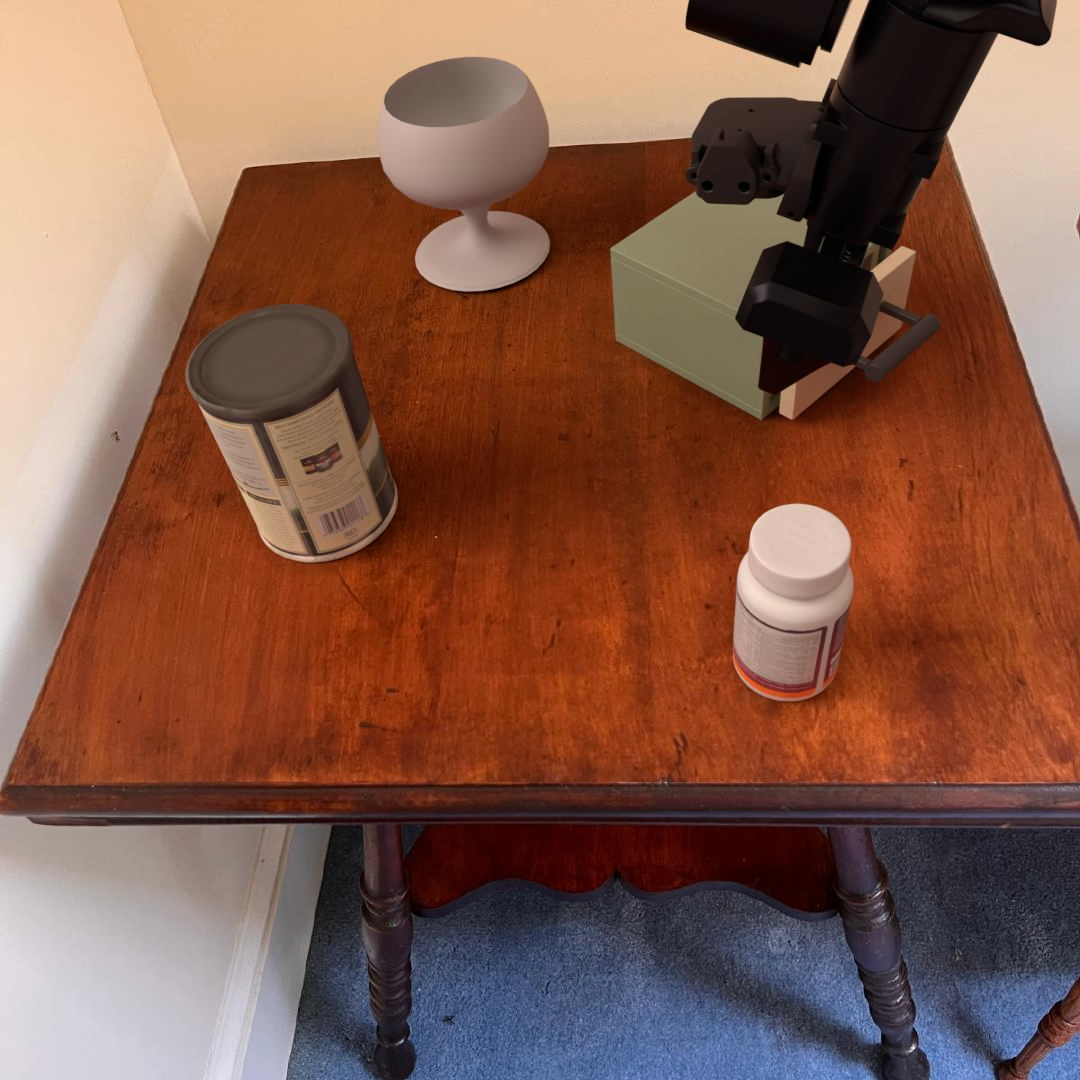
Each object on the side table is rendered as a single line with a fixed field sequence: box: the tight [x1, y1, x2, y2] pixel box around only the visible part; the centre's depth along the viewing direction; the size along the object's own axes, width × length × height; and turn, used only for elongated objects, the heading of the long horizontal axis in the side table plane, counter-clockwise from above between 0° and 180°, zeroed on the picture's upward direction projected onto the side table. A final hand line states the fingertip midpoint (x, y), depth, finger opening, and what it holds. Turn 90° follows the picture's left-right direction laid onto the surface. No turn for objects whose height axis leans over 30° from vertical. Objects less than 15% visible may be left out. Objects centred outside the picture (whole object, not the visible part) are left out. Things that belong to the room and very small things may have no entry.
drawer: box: [770, 245, 942, 421], centre depth 76 cm, size 18×13×7 cm
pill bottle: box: [732, 503, 855, 702], centre depth 57 cm, size 6×6×11 cm
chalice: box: [377, 56, 551, 292], centre depth 87 cm, size 14×14×15 cm
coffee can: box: [184, 303, 399, 564], centre depth 69 cm, size 10×10×14 cm
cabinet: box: [609, 190, 893, 421], centre depth 79 cm, size 15×15×9 cm
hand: (785, 339), depth 61 cm, fingers open, 9 cm apart
